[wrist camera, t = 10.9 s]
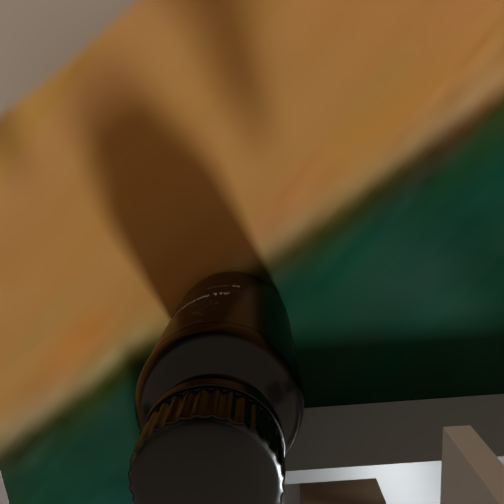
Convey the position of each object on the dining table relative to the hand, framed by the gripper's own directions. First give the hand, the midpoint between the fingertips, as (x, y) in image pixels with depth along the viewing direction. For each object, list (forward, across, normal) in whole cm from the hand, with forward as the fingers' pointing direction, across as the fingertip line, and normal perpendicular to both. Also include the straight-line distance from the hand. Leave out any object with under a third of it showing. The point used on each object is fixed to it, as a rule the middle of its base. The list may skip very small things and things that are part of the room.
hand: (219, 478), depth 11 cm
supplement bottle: (+12, 0, 0) cm, 12 cm away
